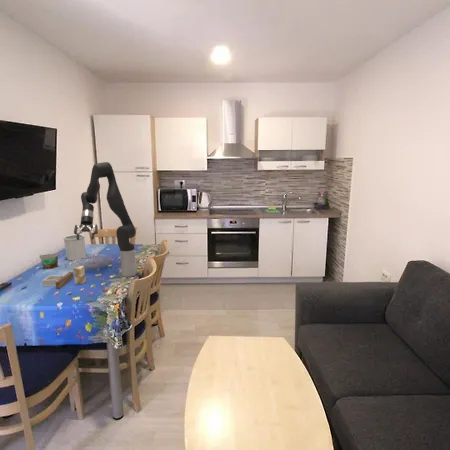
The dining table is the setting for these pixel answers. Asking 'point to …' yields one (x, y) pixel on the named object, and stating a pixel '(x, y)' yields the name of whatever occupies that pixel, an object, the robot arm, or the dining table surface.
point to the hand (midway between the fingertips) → (85, 239)
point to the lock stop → (79, 275)
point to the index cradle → (51, 280)
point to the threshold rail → (64, 280)
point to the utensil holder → (75, 247)
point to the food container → (49, 261)
